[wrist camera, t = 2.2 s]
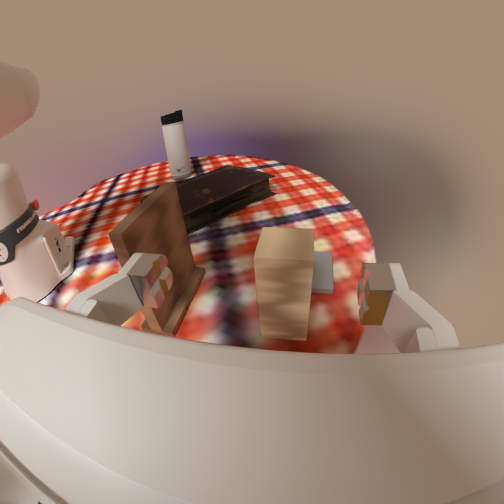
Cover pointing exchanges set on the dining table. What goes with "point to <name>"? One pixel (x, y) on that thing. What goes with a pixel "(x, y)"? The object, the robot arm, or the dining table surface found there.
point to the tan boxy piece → (284, 281)
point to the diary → (219, 194)
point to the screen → (161, 242)
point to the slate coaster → (322, 273)
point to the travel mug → (176, 145)
